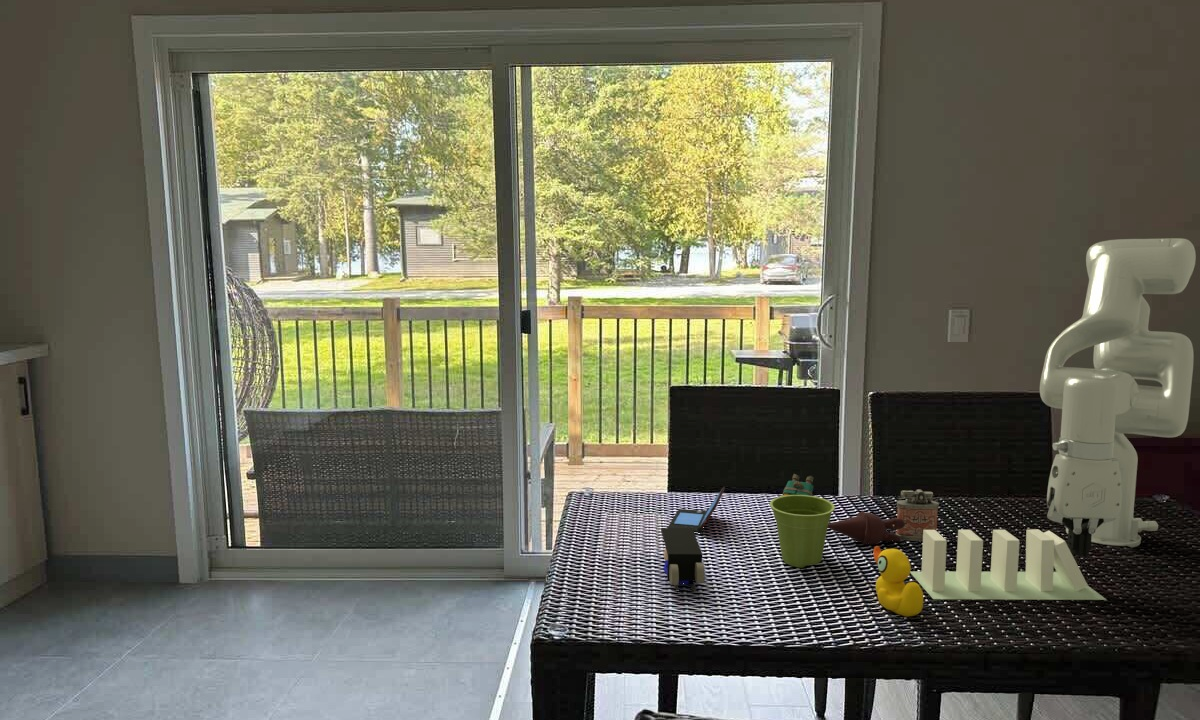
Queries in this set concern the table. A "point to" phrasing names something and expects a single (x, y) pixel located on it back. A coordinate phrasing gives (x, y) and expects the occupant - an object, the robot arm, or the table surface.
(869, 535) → the icecream
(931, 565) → the domino
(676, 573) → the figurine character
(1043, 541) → the domino
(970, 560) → the domino
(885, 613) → the table surface
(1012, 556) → the domino
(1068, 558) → the domino
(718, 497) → the handheld game console
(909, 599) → the duckling
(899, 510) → the lighter
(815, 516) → the plant pot
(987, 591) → the board
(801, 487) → the binoculars
